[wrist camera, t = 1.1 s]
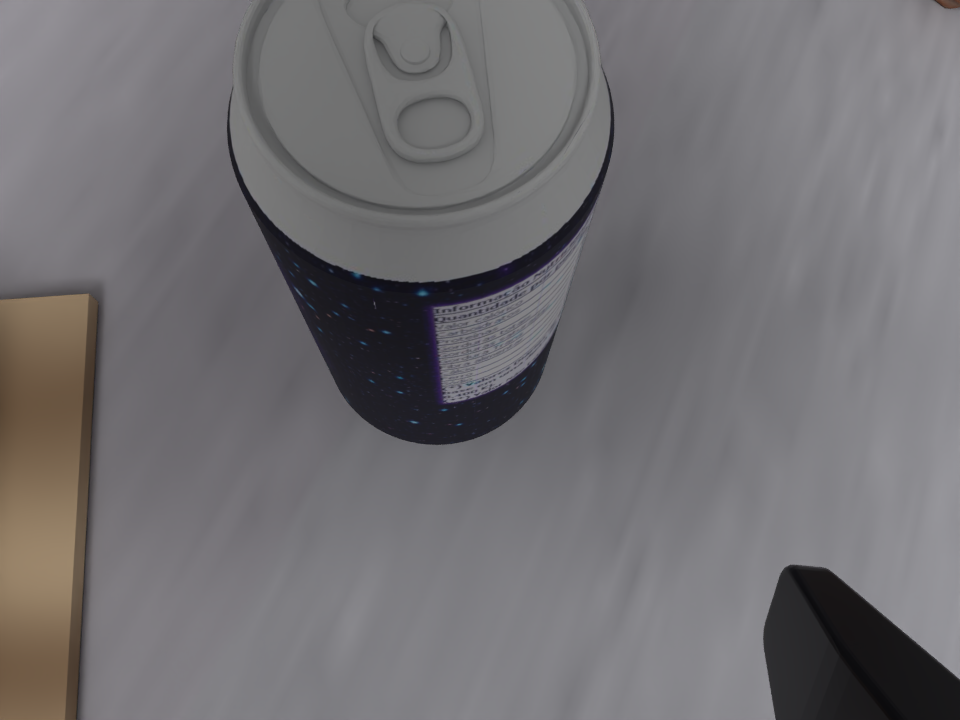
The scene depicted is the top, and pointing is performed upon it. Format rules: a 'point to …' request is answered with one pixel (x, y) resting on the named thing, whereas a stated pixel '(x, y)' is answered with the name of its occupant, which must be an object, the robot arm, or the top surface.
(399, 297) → the beverage can
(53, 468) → the socket board
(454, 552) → the top surface
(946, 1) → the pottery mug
